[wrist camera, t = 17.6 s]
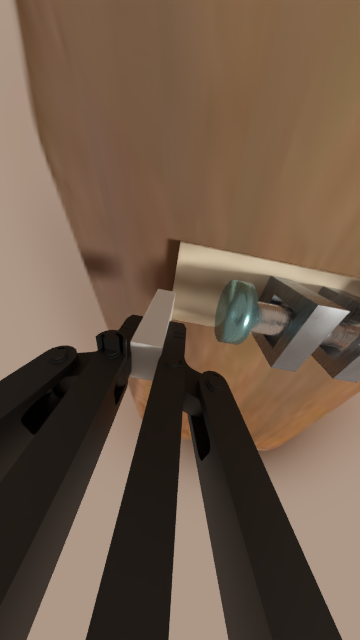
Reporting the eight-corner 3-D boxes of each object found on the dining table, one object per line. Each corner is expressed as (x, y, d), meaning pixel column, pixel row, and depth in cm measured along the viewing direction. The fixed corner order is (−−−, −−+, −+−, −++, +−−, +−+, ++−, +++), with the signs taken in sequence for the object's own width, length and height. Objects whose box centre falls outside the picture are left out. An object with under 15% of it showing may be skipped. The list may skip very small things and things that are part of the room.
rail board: (181, 240, 18) (180, 242, 16) (460, 299, 19) (480, 304, 18) (169, 313, 23) (168, 318, 22) (389, 354, 25) (399, 361, 23)
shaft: (212, 320, 20) (219, 355, 14) (228, 272, 16) (247, 294, 11) (322, 340, 21) (369, 382, 15) (361, 298, 17) (439, 332, 12)
